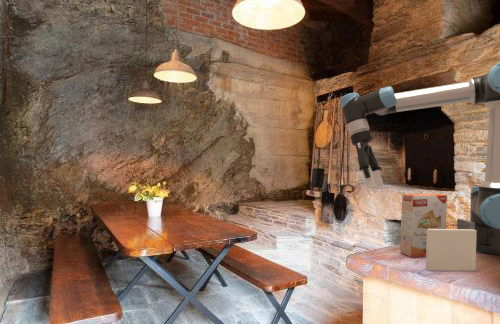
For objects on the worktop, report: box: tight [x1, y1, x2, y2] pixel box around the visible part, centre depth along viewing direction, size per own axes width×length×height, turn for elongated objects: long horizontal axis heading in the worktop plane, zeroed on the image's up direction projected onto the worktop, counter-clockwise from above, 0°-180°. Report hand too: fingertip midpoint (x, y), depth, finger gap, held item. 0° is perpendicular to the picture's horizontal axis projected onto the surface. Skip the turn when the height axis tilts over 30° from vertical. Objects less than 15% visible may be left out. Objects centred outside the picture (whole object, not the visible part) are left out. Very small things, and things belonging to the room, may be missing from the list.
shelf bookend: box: [425, 218, 477, 272], centre depth 104 cm, size 14×8×14 cm, turn 91°
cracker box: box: [399, 192, 448, 258], centre depth 117 cm, size 14×6×21 cm, turn 105°
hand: (376, 187), depth 124 cm, fingers open, 13 cm apart
